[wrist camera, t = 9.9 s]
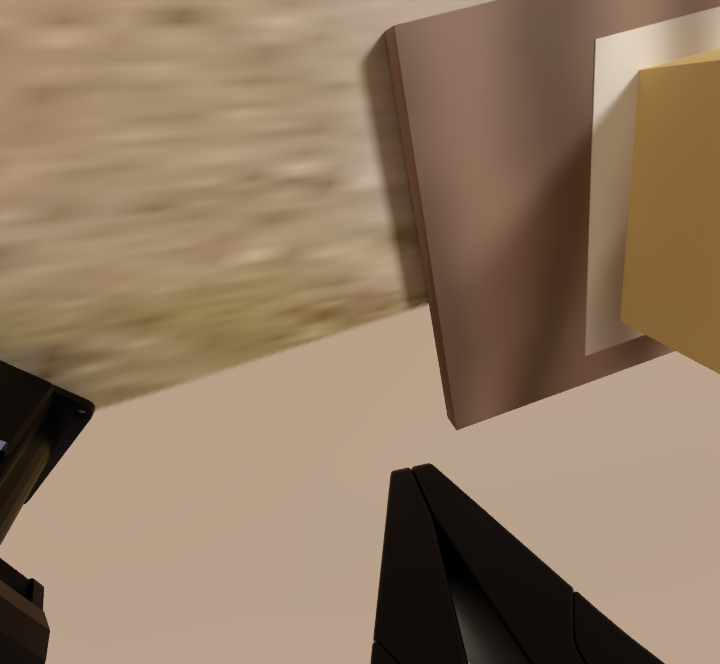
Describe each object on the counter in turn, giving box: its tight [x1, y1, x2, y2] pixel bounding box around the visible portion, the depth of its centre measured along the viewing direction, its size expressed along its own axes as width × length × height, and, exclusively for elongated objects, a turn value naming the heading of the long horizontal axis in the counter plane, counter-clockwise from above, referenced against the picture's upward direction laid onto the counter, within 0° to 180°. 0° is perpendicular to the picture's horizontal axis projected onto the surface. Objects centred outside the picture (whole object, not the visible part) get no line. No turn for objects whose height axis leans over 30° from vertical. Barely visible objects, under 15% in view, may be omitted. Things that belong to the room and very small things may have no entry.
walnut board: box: [384, 0, 720, 430], centre depth 21 cm, size 25×19×1 cm
